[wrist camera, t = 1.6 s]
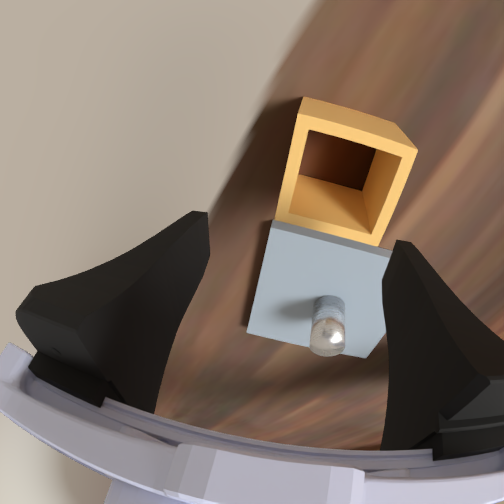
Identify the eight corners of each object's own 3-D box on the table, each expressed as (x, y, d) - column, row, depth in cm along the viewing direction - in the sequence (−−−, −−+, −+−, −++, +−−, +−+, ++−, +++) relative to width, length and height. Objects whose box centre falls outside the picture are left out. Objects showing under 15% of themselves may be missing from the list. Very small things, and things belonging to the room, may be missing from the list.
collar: (394, 123, 16) (418, 149, 12) (367, 201, 19) (377, 246, 15) (303, 96, 16) (297, 113, 12) (285, 179, 20) (274, 219, 16)
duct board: (425, 260, 21) (440, 308, 17) (365, 350, 28) (366, 393, 25) (273, 219, 22) (260, 265, 18) (248, 324, 29) (236, 368, 25)
